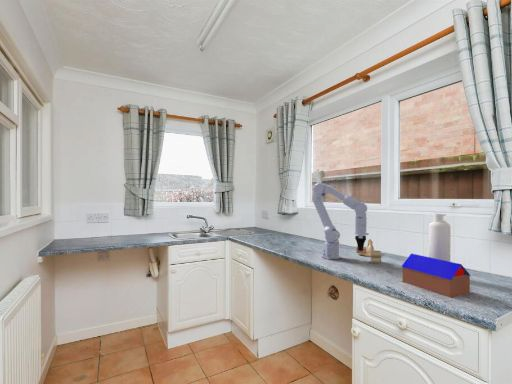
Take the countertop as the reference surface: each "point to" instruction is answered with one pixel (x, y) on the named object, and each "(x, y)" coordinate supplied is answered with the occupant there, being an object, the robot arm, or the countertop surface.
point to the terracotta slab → (361, 251)
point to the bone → (368, 249)
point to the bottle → (439, 238)
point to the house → (436, 275)
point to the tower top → (375, 254)
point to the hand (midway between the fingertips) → (360, 249)
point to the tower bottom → (376, 260)
